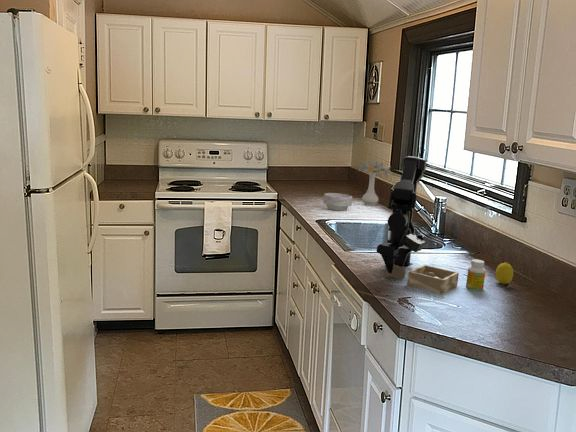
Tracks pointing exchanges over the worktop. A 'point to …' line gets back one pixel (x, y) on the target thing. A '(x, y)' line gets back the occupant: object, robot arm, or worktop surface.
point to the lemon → (504, 273)
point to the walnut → (431, 274)
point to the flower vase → (372, 181)
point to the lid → (397, 272)
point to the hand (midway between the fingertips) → (395, 270)
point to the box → (432, 279)
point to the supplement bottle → (476, 275)
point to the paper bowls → (337, 201)
